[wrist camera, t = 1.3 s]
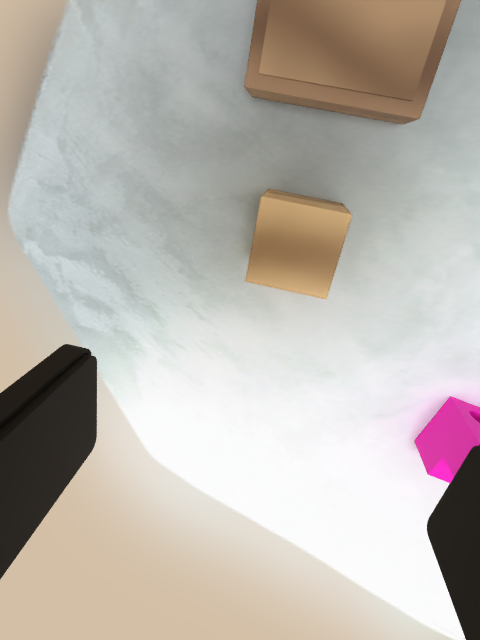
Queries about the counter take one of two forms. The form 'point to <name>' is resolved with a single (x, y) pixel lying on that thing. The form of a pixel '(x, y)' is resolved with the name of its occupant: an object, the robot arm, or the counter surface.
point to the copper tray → (349, 54)
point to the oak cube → (297, 243)
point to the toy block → (449, 438)
